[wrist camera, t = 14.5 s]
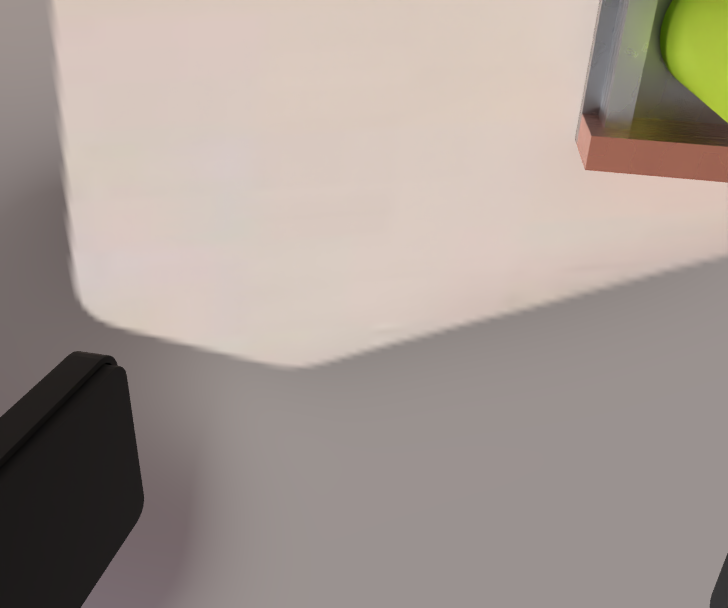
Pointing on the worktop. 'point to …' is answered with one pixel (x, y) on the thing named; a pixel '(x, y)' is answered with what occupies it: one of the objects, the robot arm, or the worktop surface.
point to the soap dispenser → (698, 49)
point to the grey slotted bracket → (644, 103)
